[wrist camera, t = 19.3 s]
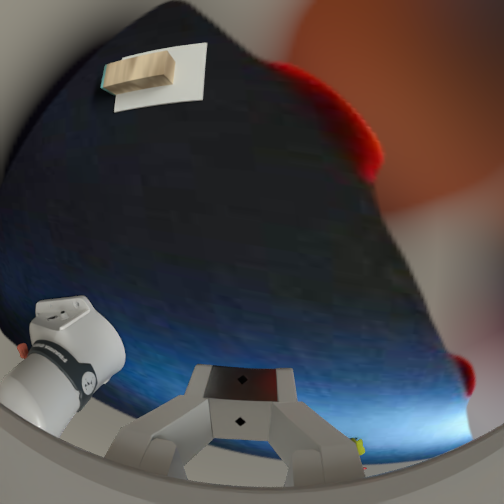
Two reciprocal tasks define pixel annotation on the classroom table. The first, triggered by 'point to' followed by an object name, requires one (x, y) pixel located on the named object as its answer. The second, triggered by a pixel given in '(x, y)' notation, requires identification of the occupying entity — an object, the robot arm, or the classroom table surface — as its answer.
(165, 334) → the classroom table surface
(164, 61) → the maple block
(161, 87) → the grey mat
